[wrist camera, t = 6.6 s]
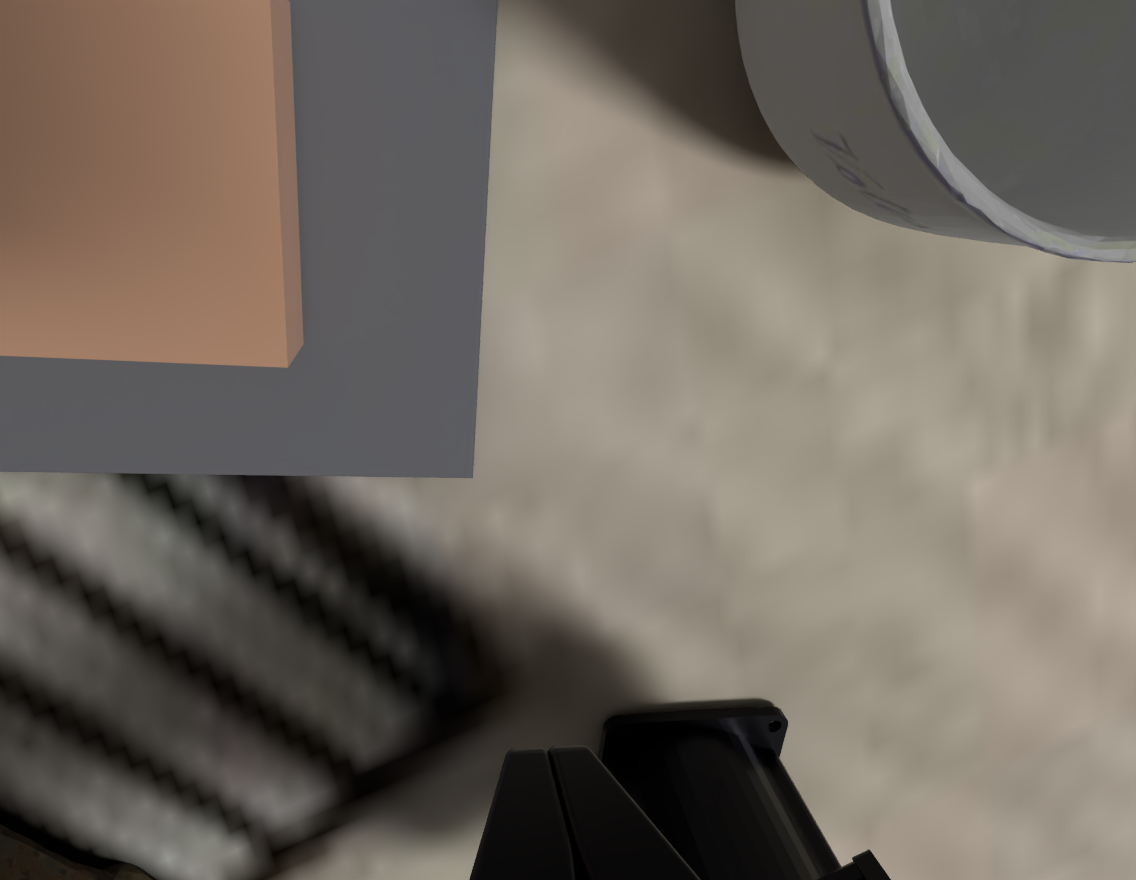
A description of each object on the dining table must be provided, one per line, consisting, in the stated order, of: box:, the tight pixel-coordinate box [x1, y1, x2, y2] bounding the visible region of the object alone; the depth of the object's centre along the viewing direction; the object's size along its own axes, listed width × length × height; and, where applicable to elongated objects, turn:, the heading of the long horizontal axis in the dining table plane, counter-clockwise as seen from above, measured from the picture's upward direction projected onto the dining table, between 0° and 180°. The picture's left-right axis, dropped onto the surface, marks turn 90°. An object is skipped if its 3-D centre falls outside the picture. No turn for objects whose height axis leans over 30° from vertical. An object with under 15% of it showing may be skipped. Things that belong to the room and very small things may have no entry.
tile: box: [0, 0, 304, 368], centre depth 14 cm, size 2×7×8 cm
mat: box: [0, 0, 498, 478], centre depth 15 cm, size 16×14×1 cm
